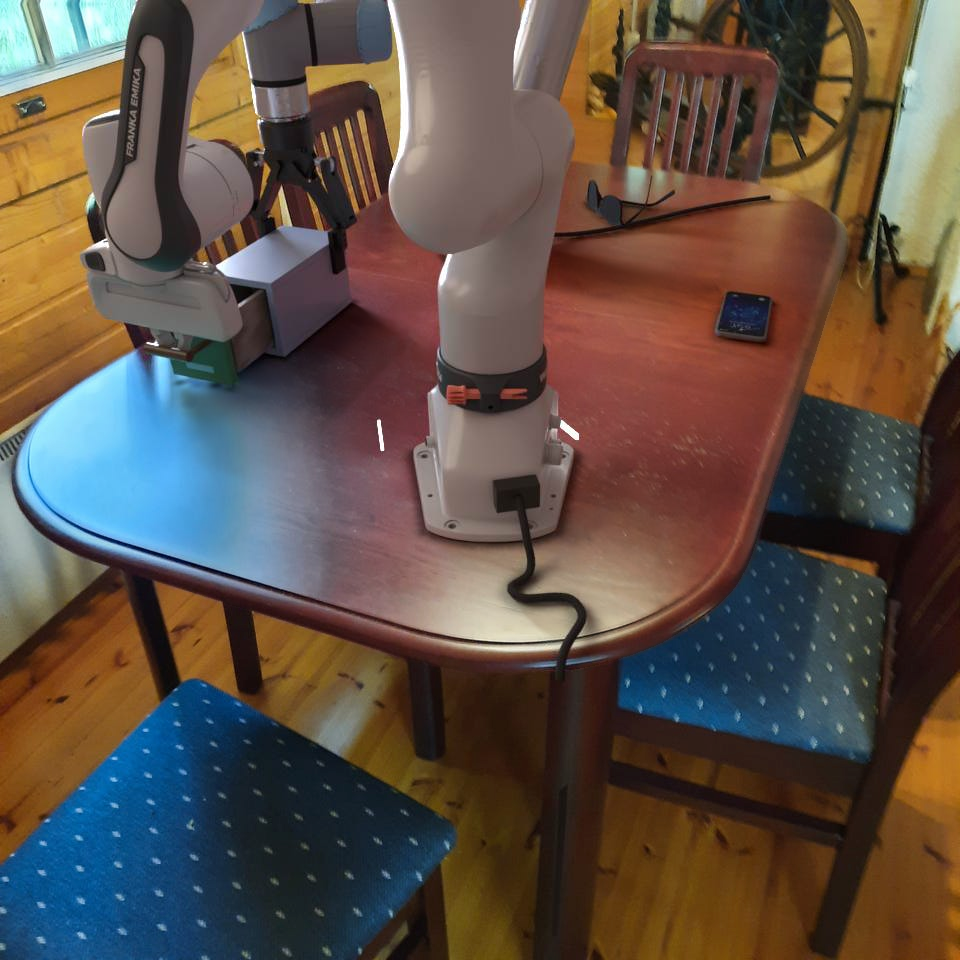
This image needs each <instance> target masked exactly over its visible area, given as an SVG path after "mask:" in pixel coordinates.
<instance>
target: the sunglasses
mask: <svg viewBox="0 0 960 960" xmlns="http://www.w3.org/2000/svg"><path fill="white" fill-rule="evenodd" d="M652 181H653V175H650V178H649V184H648V191H647V196H646V200H645V202H644V203H641V202H635V201H629V200H623V199H620V198H619V197H617V196H615V195H613V194H605V195H604V196H603V197H602V194H601V193H600V190H599V186H598V184H597V181H595V180H594V179H590V180H589V181H588V185H587V191H586V196H585V200H586V203H587V204H588V206H589V207H590V208H591V209H592V210H593V211H594V212H596V213H597V214H598V215H599V216H601V218H603V219H604V220H605V221H607V222H608V223H609V224H611V225H613V226H616V225H624V224H627V223H629V222H633V221H635V219H636V218H638V217H639V216H640V214H642V212H643V211H644V210H645V209H646V208H652V207H656V206H658V205H659V204H660V205H661V203H664V202H665V201H666V200H668V199H669V198H671V197H673V196H675V194H676V189H672V190H671V191H670V192H668V193H667V194H666V195H664V196H663V197H661V198H660V199H658V200H657V201H655V202H652V203H648V202H649V198H650V197H649V196H650V192H651V187H652ZM623 205H629V206H635V207H641V208H640V209H639V210H638V211H637V212H636V213H635V214H634V215H633V216H631V217H630V218H629V219H628V220H626V221H625V222H624V221H623V215H624V208H623V207H624V206H623Z"/></svg>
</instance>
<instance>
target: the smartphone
mask: <svg viewBox="0 0 960 960" xmlns="http://www.w3.org/2000/svg"><path fill="white" fill-rule="evenodd" d="M773 302H774V301H773V298H772V297H771V296H769V295H763V294H756V293H749V292H743V291H734V290H729V291H726V292H725V293H724V295H723V299H722V301H721V306H720V310H719V312H718V317H717V319H716V322H715V328H714V334H715V335H716V336H717V337H718V338H719V337H720V338H725V339H732V340H739V341H747V342H754V343H764V342H765V341H767V338H768V333H769V328H770V318H771V313H772V307H773Z"/></svg>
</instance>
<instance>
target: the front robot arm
mask: <svg viewBox="0 0 960 960" xmlns="http://www.w3.org/2000/svg"><path fill="white" fill-rule="evenodd" d="M264 1H265V0H136V1H135V3H134V6H133V8H132V12H131V16H130V20H129V24H128V28H127V34H126V42H125V48H124V57H123V67H122V76H121V89H120V99H119V100H120V101H119V108H117V109H115V110H111V111H107V112H104V113H102V114H99V115H96V116H94V117H92V118H90V119H89V120H88V121H86V123H85V125H84V126H83V128H82V134H81V141H82V151H83V159H84V162H85V167H86V171H87V176H88V179H89V183H90V188H91V190H92V194H93V197H94V200H95V202H96V204H97V205H98V207H99V208H100V212H101V219H102V222H103V227H104V235H105V239H103V240H101V241H98V242H96V243H94V244H92V245H91V246H88V247H87V248H86V249H84V250H82V251H80V252H79V253H78V257H79V261H80V263H81V265H82V267H83V268H84V269H86V270H87V271H86V272H85V278H86V283H87V286H88V291H89V294H90V297H91V300H92V303H93V306H94V308H95V310H96V312H97V313H98V314H99V315H100V316H101V317H102V318H103V319H105V320H108V321H109V320H110V321H115V322H120V323H125V324H130V325H136V326H138V327H139V326H140V327H145V328H149V331H150V334H151V336H152V337H153V338H154V339H155V340H156V341H157V342H158V343H159V344H160V345H163V346H168V347H173V348H178V349H183V350H188V351H189V350H190V349H191V347H190V345H191V342H192V340H193V337H194V336H195V337H200V338H205V339H210V340H215V341H220V342H225V341H227V340H229V339H230V338H232V337H233V336H235V335H236V334H237V333H238V332H239V331H240V329H241V328H242V325H243V323H242V318H241V314H240V311H239V308H238V304H237V302H236V299H235V296H234V293H233V291H232V288H231V286H230V284H229V280H228V277H227V276H226V275H225V274H224V273H223V272H222V271H220V270H219V269H217V267H216V265H215V264H213V263H210V262H199V261H196V260H194V258H193V257H195V256H196V255H197V254H198V253H199V251H201V250H202V249H204V248H206V247H207V246H208V245H210V244H211V243H213V242H214V241H216V240H218V239H219V238H220V237H222V236H223V235H224V234H226V233H227V232H228V231H229V230H231V229H232V228H234V227H235V226H237V225H238V224H240V222H242V221H243V220H244V219H245V218H246V217H248V216H249V215H248V214H249V213H250V211H251V209H252V207H253V203H254V185H253V181H252V177H251V175H250V172H249V170H248V167H247V164H245V162H244V160H243V159H242V158H241V157H240V156H239V154H237V152H235V151H234V150H233V149H232V148H231V147H229V146H227V145H226V144H224V143H221V142H219V141H215V140H205V139H202V138H199V137H196V136H193V135H191V134H189V131H190V124H191V116H192V109H193V108H192V107H193V101H194V97H195V95H196V91H197V89H198V86H199V84H200V82H201V80H202V79H203V76H204V74H205V73H206V72H207V70H208V69H209V68H210V66H211V64H213V62H214V61H215V60H216V58H217V57H218V56H219V55H220V54H221V53H222V52H223V51H224V50H225V49H226V48H227V46H229V44H231V43H232V42H233V41H234V40H235V39H236V38H237V37H239V35H241V34H242V32H243V31H244V30H245V29H246V28H247V27H248V26H249V25H250V24H251V23H252V22H253V21H254V20H255V19H256V18H257V16H258V15H259V13H260V12H261V10H262V7H263V4H264ZM387 1H388V5H389V9H390V14H391V17H390V19H391V24H392V27H393V31H394V35H395V41H396V48H397V54H398V65H399V81H400V82H399V83H400V84H399V85H400V86H399V87H400V130H399V131H400V133H399V144H398V150H397V153H396V157H395V161H394V165H393V167H392V170H391V173H390V175H389V180H388V199H389V205H390V209H391V212H392V215H393V217H394V219H395V221H396V223H397V225H398V226H399V228H400V230H401V231H402V232H403V234H404V235H405V236H406V237H407V238H408V239H409V240H410V241H411V242H412V243H414V245H416V246H418V247H419V248H421V249H422V250H425V251H426V252H427V251H428V252H429V253H433V254H437V255H443V254H444V255H446V254H447V257H446V258H445V260H444V263H443V266H442V267H441V270H440V272H439V277H438V282H437V307H438V324H439V326H438V327H439V340H440V341H439V342H440V345H439V346H438V348H437V354H436V356H437V358H436V363H435V364H436V376H437V384H436V385H435V387H434V386H433V388H432V389H431V390H430V391H428V392H427V406H428V407H427V409H428V424H429V435H426V436H425V438H424V442H422V443H419V444H417V445H416V446H415V447H414V448H413V454H412V455H413V457H412V458H413V464H414V470H415V475H416V476H415V477H416V480H417V487H418V492H419V498H420V499H419V500H420V503H421V504H420V505H421V510H422V516H423V522H424V526H425V529H426V530H427V531H428V532H429V533H432V534H434V535H437V536H440V537H443V538H448V539H452V540H457V541H466V542H477V543H478V542H480V543H500V542H501V543H502V542H503V543H506V542H518V541H522V542H523V543H522V544H523V547H524V552H525V556H526V567H525V570H524V572H523V573H522V574H521V575H520V576H518V577H516V578H514V579H513V580H511V581H510V582H508V584H507V587H506V591H507V594H508V595H509V596H510V597H511V598H512V599H513V600H515V601H516V602H520V603H524V604H536V603H537V604H538V603H551V602H562V603H567V604H569V605H571V606H572V607H573V608H574V610H575V612H576V616H577V618H576V620H575V622H574V624H573V625H572V627H571V628H570V629H569V631H568V633H567V634H566V636H565V637H564V638H563V641H562V643H561V645H560V648H559V650H558V653H557V657H556V662H555V663H556V664H555V679H554V680H555V681H556V682H557V683H558V684H561V683H564V682H565V680H566V668H567V660H568V656H569V653H570V652H571V649H572V647H573V645H574V643H575V641H576V640H577V638H578V636H579V635H580V634H581V632H582V630H583V629H584V627H585V625H586V622H587V616H588V615H587V614H588V613H587V610H586V608H585V605H584V604H583V603H582V602H581V600H580V599H578V598H577V597H576V596H575V595H573V594H570V593H568V592H567V593H566V592H557V591H555V592H540V593H523V592H520V591H518V590H517V588H519V587H520V586H522V585H525V583H527V582H529V581H530V580H531V579H532V577H533V576H534V574H535V570H536V554H535V549H534V545H533V541H532V539H536V538H539V537H543V536H546V535H548V534H550V533H552V532H554V531H556V530H557V527H558V525H559V520H560V518H561V517H560V516H561V512H562V508H563V504H564V500H565V497H566V492H567V488H568V483H569V480H570V476H571V472H572V469H573V468H572V467H573V464H574V459H575V450H574V447H573V446H571V445H570V444H568V443H566V442H563V441H561V439H560V438H558V430H560V429H562V430H563V431H565V432H566V433H567V434H568V435H570V436H571V437H572V439H574V440H576V441H577V440H578V441H579V439H580V438H579V437H580V435H579V433H578V432H577V431H575V429H573V428H572V427H570V425H568V424H567V423H566V422H565V421H563V420H562V416H559V392H557V391H556V390H555V389H554V388H553V387H552V386H551V385H550V384H549V383H548V382H547V379H548V367H549V361H548V356H547V355H548V354H547V353H548V351H547V347H546V345H545V344H544V323H545V322H544V321H545V297H546V296H545V295H546V283H547V274H548V269H549V263H550V257H551V252H552V249H553V248H552V247H553V243H554V238H555V237H554V234H555V232H556V229H557V224H558V218H559V212H560V206H561V201H562V194H563V188H564V184H565V179H566V177H567V173H568V170H569V167H570V165H571V163H572V162H571V161H572V159H573V156H574V153H575V148H576V147H575V146H576V135H575V129H574V124H573V121H572V119H571V116H570V114H569V112H568V110H567V109H566V108H565V107H564V106H563V104H562V103H561V102H560V101H559V102H558V101H557V100H556V99H555V98H554V97H552V96H551V95H549V94H547V93H545V92H542V91H538V90H529V89H515V90H513V67H514V52H515V45H516V39H517V36H518V32H519V29H520V23H521V16H522V9H521V3H520V0H387ZM247 215H248V216H247ZM444 255H443V256H444ZM216 272H217V273H216ZM169 331H170V332H173V333H174V336H175V338H176V339H179V342H175V340H174V338H173V337H172V335H171V333H170V332H169ZM173 360H174V359H173ZM183 362H184V361H183ZM377 429H378V436H379V437H378V439H379V445H380V451H381V452H382V451H385V447H384V440H383V432H382V425H381V419H378V420H377ZM568 790H569V784H568V783H566V785H564V786H563V787H561V789H559V790H558V807H557V826H556V845H555V860H554V873H553V874H554V875H553V887H552V889H553V890H552V903H551V904H552V905H551V922H550V924H551V925H550V935H551V936H553V937H557V936H558V935H559V925H560V911H561V909H560V908H561V896H562V880H563V869H564V857H565V856H564V855H565V846H566V845H565V843H566V832H567V831H566V830H567V813H568V811H567V810H568V795H569V791H568Z"/></svg>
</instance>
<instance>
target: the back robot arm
mask: <svg viewBox="0 0 960 960" xmlns="http://www.w3.org/2000/svg"><path fill="white" fill-rule="evenodd" d="M591 1H592V0H525V2H524V4H523V5H524V6H523V9H522V12H521V23H520V29H519V32H518V36H517V39H516V45H515V52H514V67H513V90H515V89H529V90H538V91H542V92H545V93H547V94H549V95H551V96H552V97H554V98H555V99H556V100H557V101H558V102H560V100H561V98H562V94H563V90H564V87H565V85H566V81H567V78H568V75H569V72H570V68H571V65H572V61H573V59H574V55H575V52H576V49H577V46H578V42H579V40H580V36H581V33H582V30H583V27H584V24H585V21H586V17H587V14H588V12H589V11H588V10H589V7H590V5H591ZM241 34H242V40H243V45H244V51H245V56H246V62H247V67H248V72H249V78H250V87H251V93H252V99H253V106H254V111H255V112H254V113H255V114H256V115H257V116H258V117H259V118H258V119H257V121H256V122H257V128H258V134H259V135H258V136H259V140H260V144H261V146H262V147H263V150H262V149H261V148H259V147H256V148H253V149H251V150H249V151H247V152H245V162H246V167H247V168H248V170H249V172H250V175H251V177H252V181H253V185H254V203H253V207H252V209H251V211H250V213H249V214H248V215H247V216H246V217H248V216H249V217H252V218H253V220H254V221H255V222H256V227H257V233H258V238H259V239H261V238H262V237H264V236H266V235H267V234H269V233H271V232H272V231H274V230H276V229H277V225H276V219H275V216H271V215H272V214H273V213H272V212H271V211H272V209H273V207H274V204H275V202H276V200H277V197H278V195H279V194H280V190H281V188H282V186H283V185H289V184H290V185H293V186H297V187H301V188H302V190H303V191H304V192H305V193H307V194H308V195H309V197H310V198H311V200H312V201H313V203H314V204H315V206H316V207H317V209H318V210H319V212H320V213H321V215H322V216H323V218H324V219H325V221H326V222H327V224H328V226H329V228H330V229H329V230H327V231H328V232H327V233H328V241H329V248H330V256H331V263H332V271H333V274H336V275H337V274H339V273H340V272H341V271H343V270H344V269H345V268H346V263H345V255H344V251H345V250H346V251H347V250H348V247H349V245H348V236H347V230H348V229H350V228H351V227H352V226H354V225H355V224H357V222H358V218H357V215H356V213H355V210H354V209H353V206H352V203H351V201H350V199H349V196H348V194H347V191H346V188H345V187H344V184H343V181H342V179H341V177H340V174H339V170H338V161H337V158H336V156H335V155H330V156H327V157H324V156H319V155H318V154H317V153H316V151H315V131H314V130H315V129H314V123H313V117H312V116H311V115H310V112H311V102H310V93H309V87H308V79H307V78H308V77H307V73H306V69H307V67H309V68H310V67H314V68H315V67H325V66H341V65H360V64H361V65H362V64H365V65H371V64H374V63H380V62H386V61H388V60H390V59H391V57H392V55H393V28H392V19H391V14H390V9H389V5H388V1H387V0H314V1H313V3H312V2H311V3H309V2H308V3H307V2H306V3H304V2H299V0H265V1H264V4H263V7H262V10H261V12H260V13H259V15H258V16H257V18H256V19H255V20H254V21H253V22H252V23H251V24H250V25H249V26H248V27H247V28H246V29H245V30H244V31H243V32H241ZM265 164H266V166H267V167H268V169H269V173H268V175H267V177H266V180H265V183H266V184H265V186H264V188H263V191H262V185H263V179H264V170H265ZM316 169H318V170H316ZM317 171H318V172H317ZM319 174H321V176H320V175H319ZM310 180H311V181H310ZM323 184H324V185H323ZM261 193H262V194H261ZM771 198H772V197H771V195H770V194H769V195H768V194H767V195H759V196H753V197H746V198H738V199H732V200H726V201H720V202H715V203H708V204H704V205H699V206H694V207H689V208H685V209H684V208H683V209H680V210H676V211H671V212H667V213H662V214H658V215H655V216H650V217H646V218H642V219H638V220H633V221H632V222H629V223H627V224H624V225H612V226H606V227H601V228H595V229H587V230H586V229H585V230H578V231H564V232H563V231H562V232H556V231H555V234H554V238H571V237H583V236H589V235H596V234H597V235H598V234H602V233H607V232H608V233H609V232H614V231H619V230H624V229H628V228H631V227H635V226H640V225H644V224H649V223H653V222H657V221H660V220H664V219H668V218H673V217H677V216H681V215H685V214H691V213H695V212H699V211H700V212H701V211H705V210H709V209H715V208H721V207H726V206H731V205H733V206H734V205H740V204H747V203H754V202H760V201H769V200H771ZM442 256H443V257H444V258H445V259H446V257H447V254H446V255H444V254H442Z"/></svg>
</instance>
